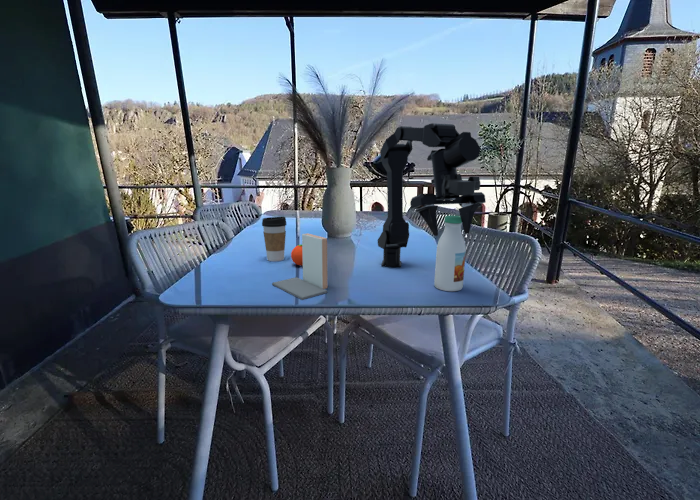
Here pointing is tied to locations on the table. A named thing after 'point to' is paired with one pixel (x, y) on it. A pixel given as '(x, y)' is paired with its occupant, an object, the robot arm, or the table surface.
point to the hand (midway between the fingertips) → (451, 234)
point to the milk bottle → (450, 256)
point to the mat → (299, 288)
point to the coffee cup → (274, 237)
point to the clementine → (297, 255)
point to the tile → (315, 260)
